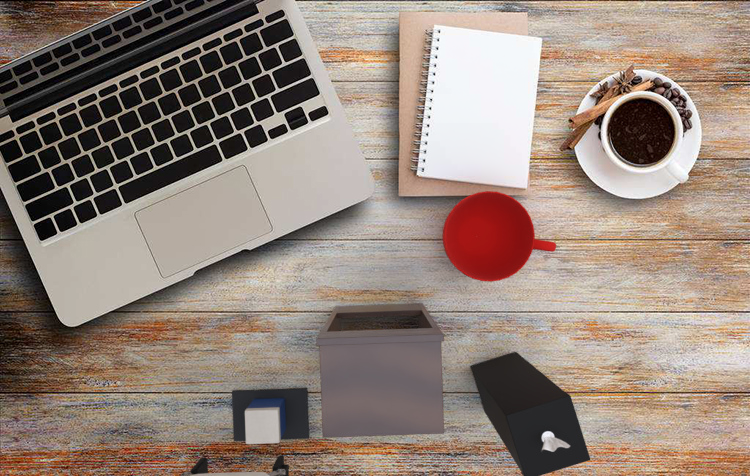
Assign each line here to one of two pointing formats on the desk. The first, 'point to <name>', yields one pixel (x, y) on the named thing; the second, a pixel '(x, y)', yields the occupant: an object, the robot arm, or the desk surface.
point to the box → (265, 421)
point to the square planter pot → (381, 375)
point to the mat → (293, 410)
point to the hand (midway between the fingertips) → (243, 468)
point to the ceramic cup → (490, 236)
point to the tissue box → (530, 415)
